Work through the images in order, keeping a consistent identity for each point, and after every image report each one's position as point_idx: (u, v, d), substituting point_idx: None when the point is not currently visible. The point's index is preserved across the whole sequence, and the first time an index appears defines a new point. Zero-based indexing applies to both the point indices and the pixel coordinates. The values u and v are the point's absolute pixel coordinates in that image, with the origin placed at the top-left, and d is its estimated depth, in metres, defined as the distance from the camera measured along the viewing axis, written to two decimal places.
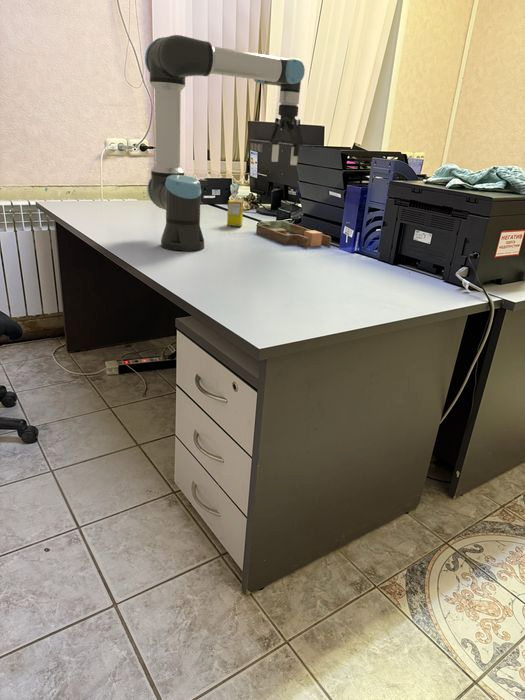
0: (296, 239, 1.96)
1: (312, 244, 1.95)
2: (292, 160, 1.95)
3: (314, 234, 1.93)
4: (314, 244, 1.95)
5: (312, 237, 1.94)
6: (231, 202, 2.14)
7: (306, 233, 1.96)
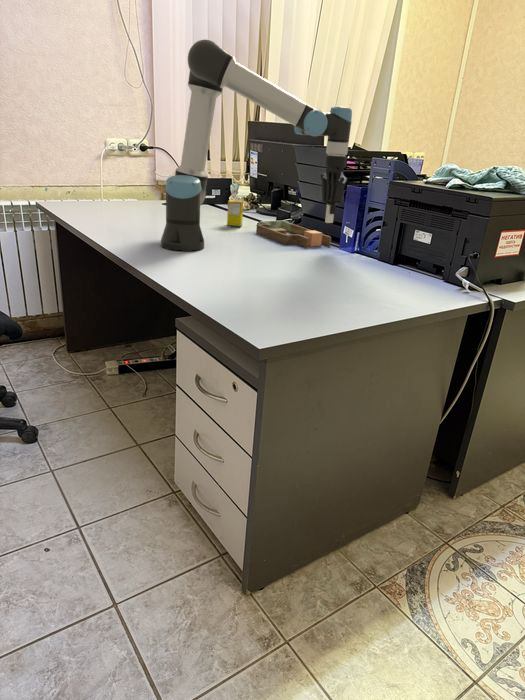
0: (296, 239, 1.96)
1: (312, 244, 1.95)
2: (328, 218, 1.86)
3: (314, 234, 1.93)
4: (314, 244, 1.95)
5: (312, 237, 1.94)
6: (231, 202, 2.14)
7: (306, 233, 1.96)
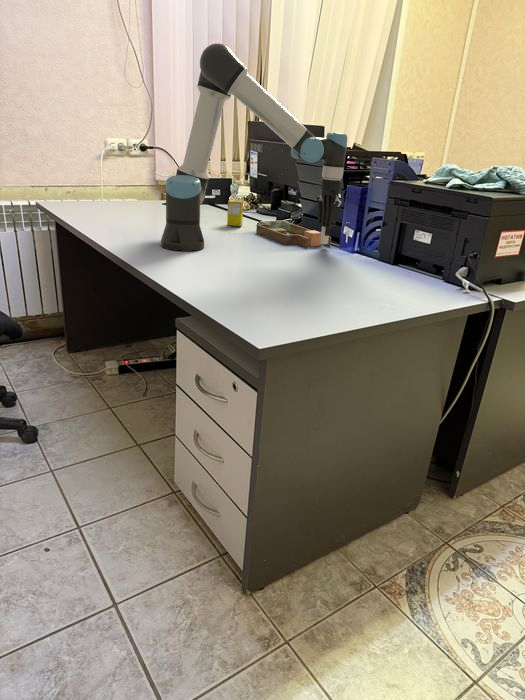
0: (296, 239, 1.96)
1: (312, 244, 1.95)
2: (323, 239, 1.90)
3: (314, 234, 1.93)
4: (314, 244, 1.95)
5: (312, 237, 1.94)
6: (231, 202, 2.14)
7: (306, 233, 1.96)
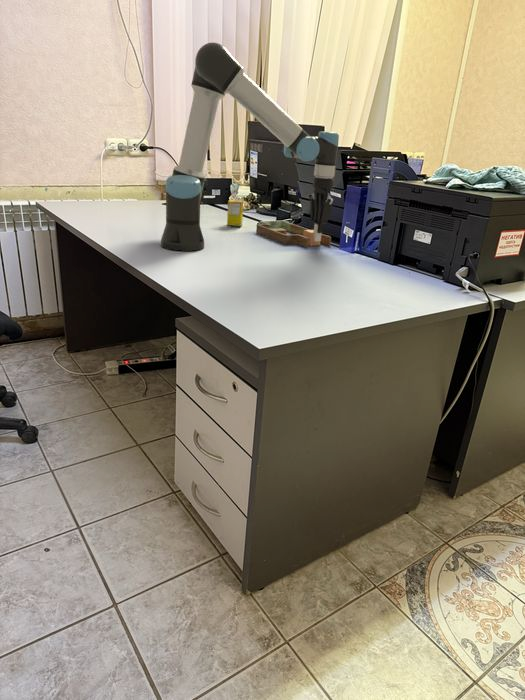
0: (296, 239, 1.96)
1: (311, 243, 1.95)
2: (316, 236, 1.93)
3: (313, 233, 1.94)
4: (313, 243, 1.96)
5: (311, 236, 1.94)
6: (231, 202, 2.14)
7: (305, 232, 1.96)
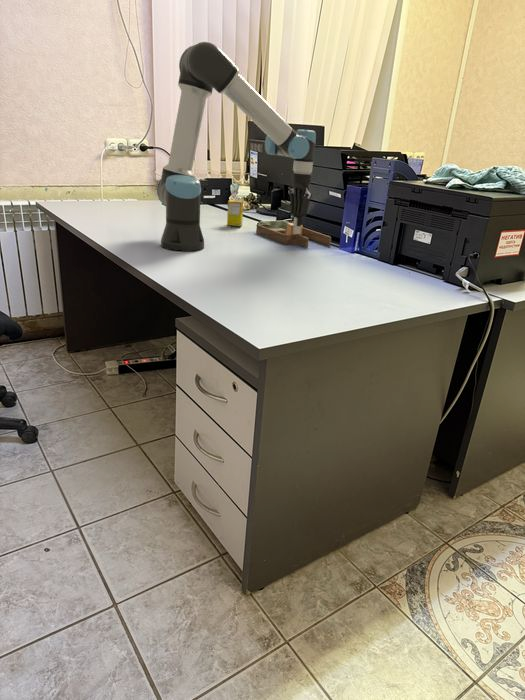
0: (296, 239, 1.96)
1: None
2: (295, 229, 2.04)
3: None
4: None
5: (291, 229, 2.06)
6: (231, 202, 2.14)
7: (288, 225, 2.08)
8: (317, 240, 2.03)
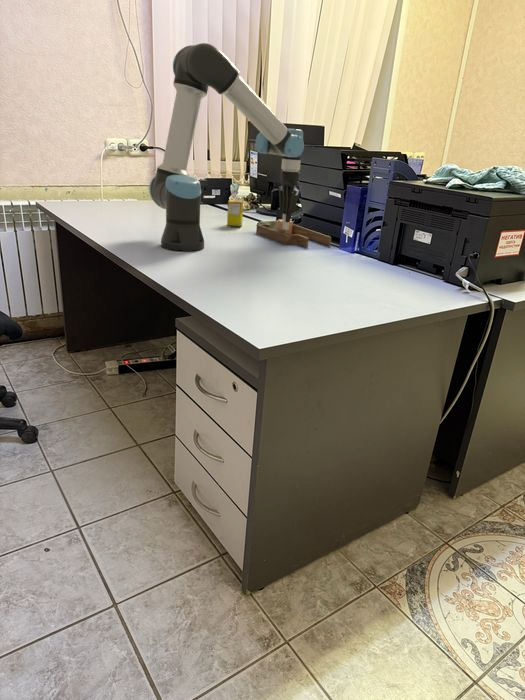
0: (296, 239, 1.96)
1: None
2: (284, 225, 2.10)
3: None
4: None
5: (281, 225, 2.12)
6: (231, 202, 2.14)
7: (278, 221, 2.15)
8: (317, 240, 2.03)
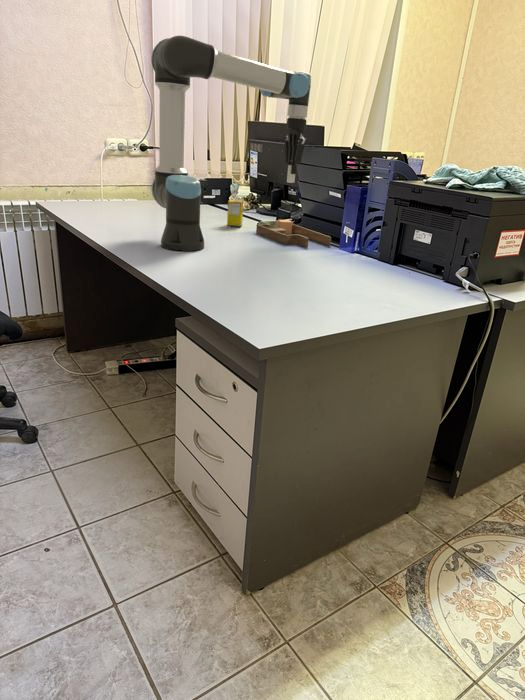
0: (296, 239, 1.96)
1: None
2: (290, 178, 2.00)
3: (283, 222, 2.12)
4: None
5: (281, 225, 2.12)
6: (231, 202, 2.14)
7: (278, 221, 2.15)
8: (317, 240, 2.03)
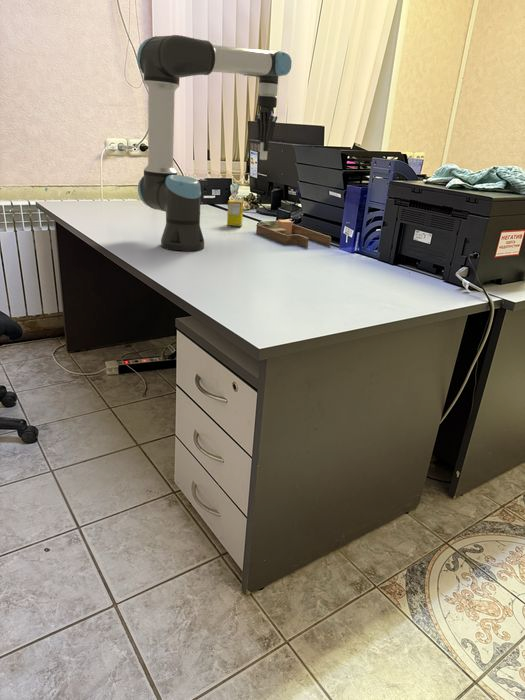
0: (296, 239, 1.96)
1: None
2: (262, 155, 2.06)
3: (283, 222, 2.12)
4: None
5: (281, 225, 2.12)
6: (231, 202, 2.14)
7: (278, 221, 2.15)
8: (317, 240, 2.03)
